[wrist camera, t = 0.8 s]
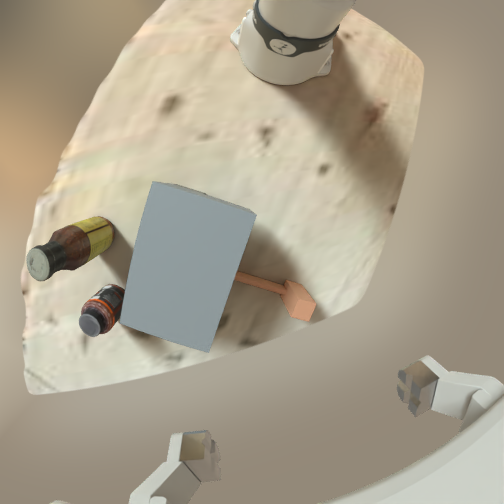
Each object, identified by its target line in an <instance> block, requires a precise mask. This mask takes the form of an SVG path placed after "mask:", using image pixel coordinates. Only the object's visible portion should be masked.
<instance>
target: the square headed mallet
mask: <svg viewBox="0 0 504 504" xmlns="http://www.w3.org/2000/svg"><path fill="white" fill-rule="evenodd" d="M234 280H236V281H240V282H243V283H246V284H249V285H253V286H256V287H259V288H263V289H266V290H269V291H273V292H276V293H279V294H280V296H281V298H282V300H283V302H284V304H285V306H286V308H287V310H288V312H289V314H290V316H291V317H293V318H297V319H301V320H305V321H309V320H310V318H311V316H312V313H313V311H314V309H315V307H316V302H315V301H314V300H313V299H312V297H311V296H310V295H309V294H308V292H307V291H306V290H305V289H304V287H303V286H302V285H301V284H298V283H295V282H292V281H289V280H286V281H285V283H284V285H281V284H278V283H274V282H271V281H268V280H264V279H261V278H258V277H255V276H252V275H248V274H245V273H242V272H239V271H237V272H236V275H235V278H234Z"/></svg>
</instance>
